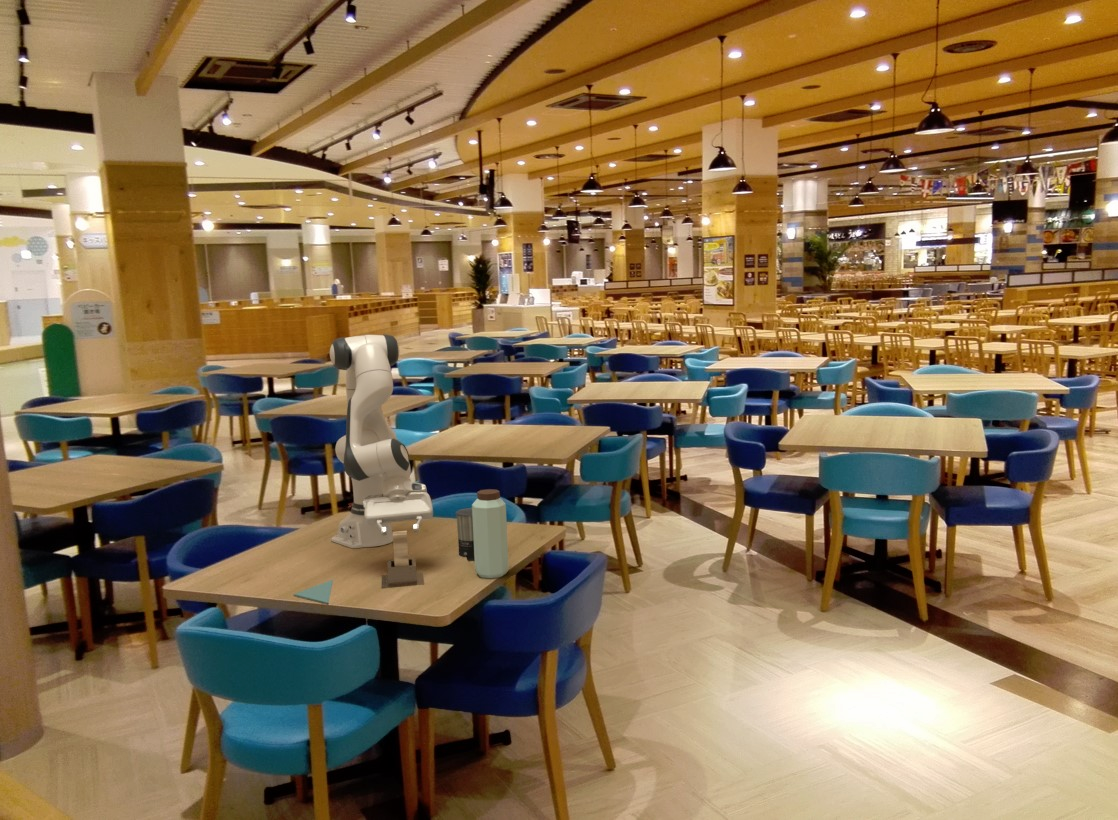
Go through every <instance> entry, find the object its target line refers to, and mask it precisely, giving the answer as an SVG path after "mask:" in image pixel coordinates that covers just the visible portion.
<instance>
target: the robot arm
mask: <svg viewBox="0 0 1118 820" xmlns="http://www.w3.org/2000/svg"><path fill="white" fill-rule="evenodd" d="M399 356H400V346H399V344H398V341H397V339H396V338H395V337H394V336H393V335H391V334H363V335H355V336H349V337H345V336H343V337H337V338H336V339H334V340H333V341H332V342H331V345H330V348H329V358H330V361H331V363H332V365H333V367H334V368H335V369H337V370H340V371H346V372H345V390H346V405H347V408H346V425H345V426H346V427H345V428H346V429H345V435H343V436H342V437H340V438H339V439H338V440H337V441H336V444H335V448H334V450H335V451H334V452H335V455H336V457H337V459H338V460H339V462H341V463H342V464H343V468H344V472H345V473H346V475H347V476H348V477H349V478H351V479H350V480H351V483H352V492H353V502H350V503H348V505H349V506H348V508H351V509H350V513H348V514H347V515H346V516H345V517H344V518H343V519H342V520H341V521H340V522H339V523H338V527H337V534H336V535H333V536H332V537H331V539H330V540H331V542H333V543H336V544H338V545H341V546H345V547H348V548H350V549H359V548H372V547H373V548H374V547H378V546H380V547H381V546H385V545H387V544H390V543H391V544H392V543H393V532H394V531H393V527H392V523H398V522H399V523H400V522H410V521H416V523H415V524H413V532H414V533H417V532H418V533H419V532H420V526H421V524H422V522H423V520H428V519H432V518H433V516H434V509H433V502H432V498H431V496H430V494H429V493H428V490H427V486H426V484H424V483H418V482H414V481H412V480H411V474H412V473H411V470H412V469H411V464H410V463H411V462H410V455H409V451H408V448H407V447H406V445H405V444H404V443H403V442H401V441H399V440H398V438H397V434H396V432H395V430H394V429H392V428H391V427H390V426H389V424H388V423H387V421H386V418H385V415H384V412H383V405H384V404H385V403H386V402H387V401H388V400H389V399H390V397H391V396H392V394H393V393H394V392H393V391H394V379H393V375H392V374H393V373H392V368H391V367H393V366H394V365H395V364H396V363H397V362H398V361H399Z"/></svg>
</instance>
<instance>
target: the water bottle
mask: <svg viewBox="0 0 1118 820" xmlns="http://www.w3.org/2000/svg"><path fill="white" fill-rule="evenodd" d="M476 496H477V497H476V499H475V501H473V503H472V504H471V508H472V517H473V538H474V558H475V560H474V571H475V572H476V574H477V575H478V576H479V577H480V578H482V579H490V578H491V579H497V578H501V577H503V576H505V575H506V574H507V572H508V571H509V568H510V567H509V548H508V546H509V545H508V526H507V525H508V524H507V521H508V520H507V503H506V502H504V500H503V499H502V498H501V493H500V490H498V489H491V488H488V489H480V490H479V491H477V492H476Z"/></svg>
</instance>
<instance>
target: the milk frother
mask: <svg viewBox="0 0 1118 820" xmlns="http://www.w3.org/2000/svg"><path fill="white" fill-rule="evenodd" d="M454 513H455V515H456V528H457V540H458V541H457V543H458V556H460V557H462V558H466V560H467V561H475V558H474V538H473V517H472V507H470V508H468V507H467V508H462V509H458V510H456V511H455V512H454Z"/></svg>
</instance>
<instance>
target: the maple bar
mask: <svg viewBox="0 0 1118 820" xmlns="http://www.w3.org/2000/svg"><path fill="white" fill-rule="evenodd" d="M392 532H393V541H392V543H393V546H392V547H393V560H394V563H395V567H400V566H409V560H408V559H409V546H408V545H409V544H408V533H407V532H408V530H401V531H400V530H399V531H398V530H397V531H392Z"/></svg>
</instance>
